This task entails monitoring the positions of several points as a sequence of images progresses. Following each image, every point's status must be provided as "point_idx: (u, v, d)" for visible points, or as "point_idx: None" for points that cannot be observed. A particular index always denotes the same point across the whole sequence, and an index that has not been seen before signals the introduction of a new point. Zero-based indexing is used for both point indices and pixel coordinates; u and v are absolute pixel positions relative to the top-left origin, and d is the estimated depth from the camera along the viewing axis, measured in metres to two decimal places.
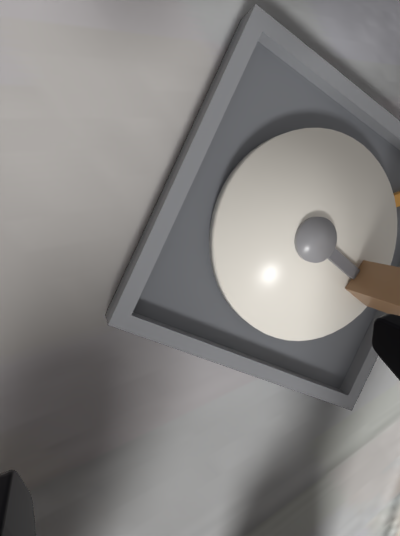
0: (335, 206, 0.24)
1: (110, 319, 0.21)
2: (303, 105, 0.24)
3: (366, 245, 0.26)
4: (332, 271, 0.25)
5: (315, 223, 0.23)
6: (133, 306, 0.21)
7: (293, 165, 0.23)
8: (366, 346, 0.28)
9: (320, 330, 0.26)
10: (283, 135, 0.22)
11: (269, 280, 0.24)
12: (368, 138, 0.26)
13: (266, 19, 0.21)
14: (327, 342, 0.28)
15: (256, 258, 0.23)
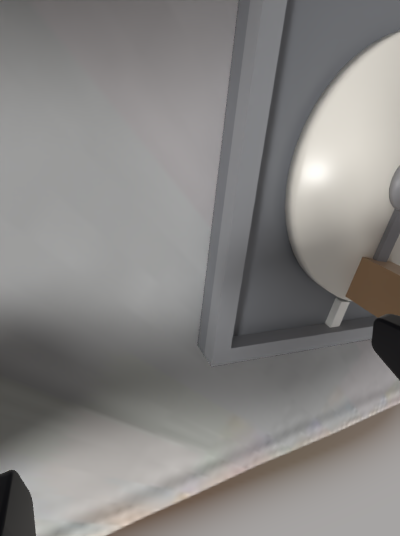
0: None
1: None
2: None
3: None
4: (379, 228, 0.19)
5: None
6: None
7: None
8: (287, 334, 0.21)
9: (313, 253, 0.18)
10: None
11: (367, 142, 0.17)
12: None
13: None
14: (279, 283, 0.20)
15: (391, 108, 0.17)
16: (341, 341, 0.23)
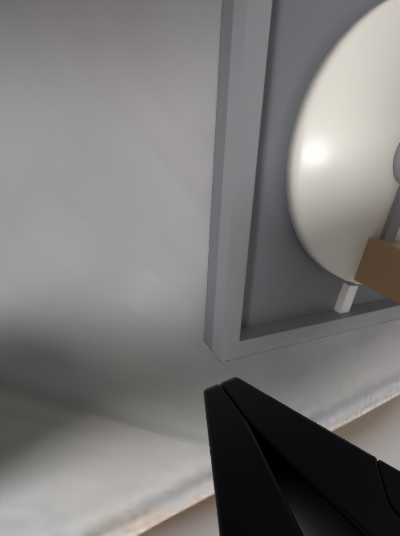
0: None
1: None
2: None
3: None
4: (385, 206, 0.19)
5: None
6: None
7: None
8: (296, 323, 0.20)
9: (318, 236, 0.18)
10: None
11: (367, 115, 0.16)
12: None
13: None
14: (284, 270, 0.19)
15: (390, 78, 0.16)
16: (352, 326, 0.22)
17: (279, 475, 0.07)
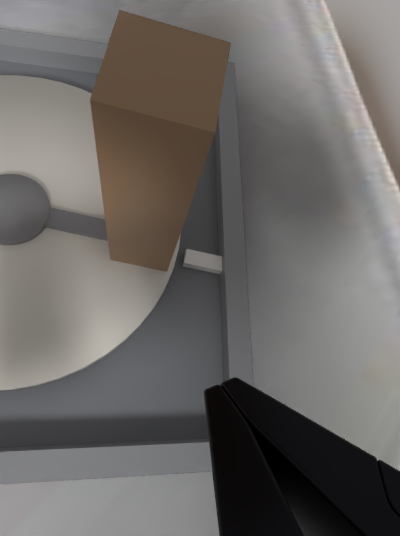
0: (31, 157, 0.16)
1: None
2: None
3: None
4: (71, 243, 0.15)
5: None
6: None
7: None
8: (225, 339, 0.16)
9: (95, 343, 0.14)
10: None
11: None
12: (71, 80, 0.19)
13: None
14: (152, 362, 0.15)
15: None
16: (240, 253, 0.17)
17: (279, 475, 0.07)
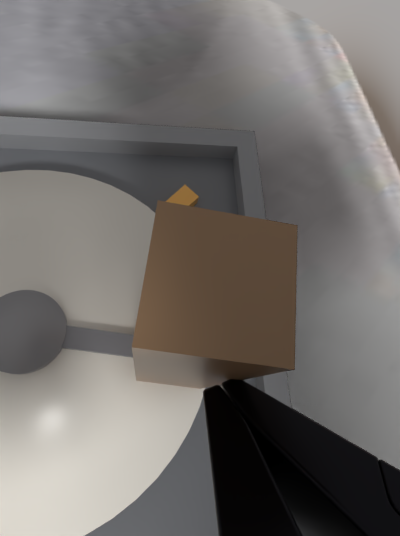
0: (43, 265, 0.14)
1: None
2: None
3: (139, 291, 0.15)
4: (92, 364, 0.13)
5: (3, 307, 0.13)
6: None
7: None
8: None
9: (125, 486, 0.12)
10: None
11: None
12: (81, 163, 0.18)
13: None
14: (188, 493, 0.14)
15: None
16: None
17: (280, 475, 0.07)
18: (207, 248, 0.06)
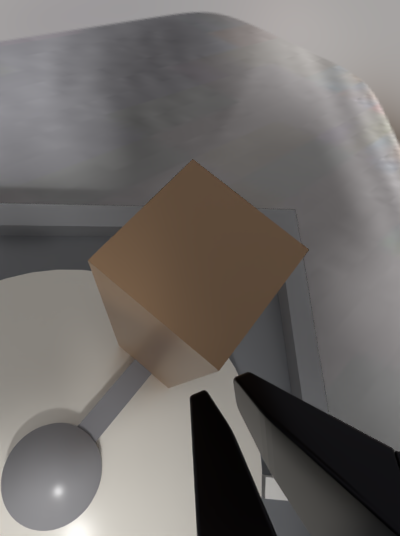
0: None
1: None
2: None
3: (90, 338, 0.14)
4: (129, 420, 0.13)
5: (14, 483, 0.11)
6: None
7: None
8: None
9: (245, 446, 0.13)
10: None
11: None
12: None
13: None
14: None
15: None
16: None
17: (295, 467, 0.07)
18: (167, 247, 0.05)
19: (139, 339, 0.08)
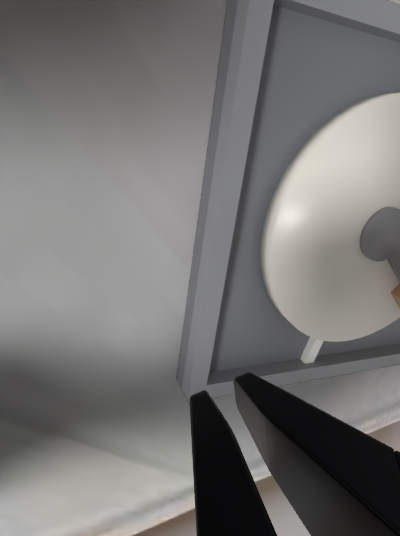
0: None
1: None
2: None
3: None
4: (386, 272, 0.22)
5: (392, 216, 0.19)
6: None
7: (393, 138, 0.18)
8: (263, 370, 0.22)
9: (351, 333, 0.23)
10: (396, 95, 0.17)
11: (321, 272, 0.20)
12: None
13: None
14: (255, 323, 0.21)
15: (316, 244, 0.19)
16: (315, 376, 0.24)
17: (295, 467, 0.07)
18: None
19: None
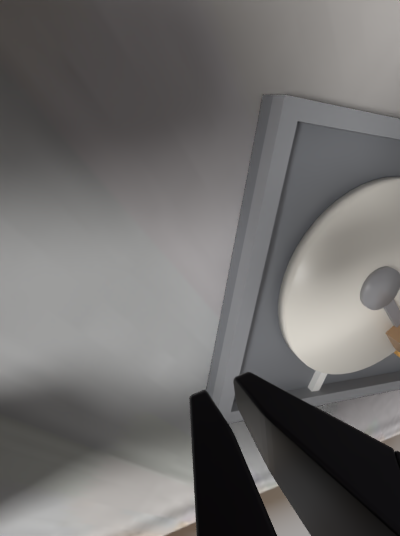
0: None
1: (289, 96, 0.17)
2: None
3: None
4: (381, 317, 0.26)
5: (387, 274, 0.23)
6: (307, 120, 0.18)
7: (388, 215, 0.22)
8: None
9: (351, 366, 0.27)
10: (391, 183, 0.21)
11: (328, 319, 0.24)
12: None
13: None
14: (271, 359, 0.25)
15: (324, 298, 0.23)
16: (320, 402, 0.27)
17: (295, 467, 0.07)
18: None
19: None
